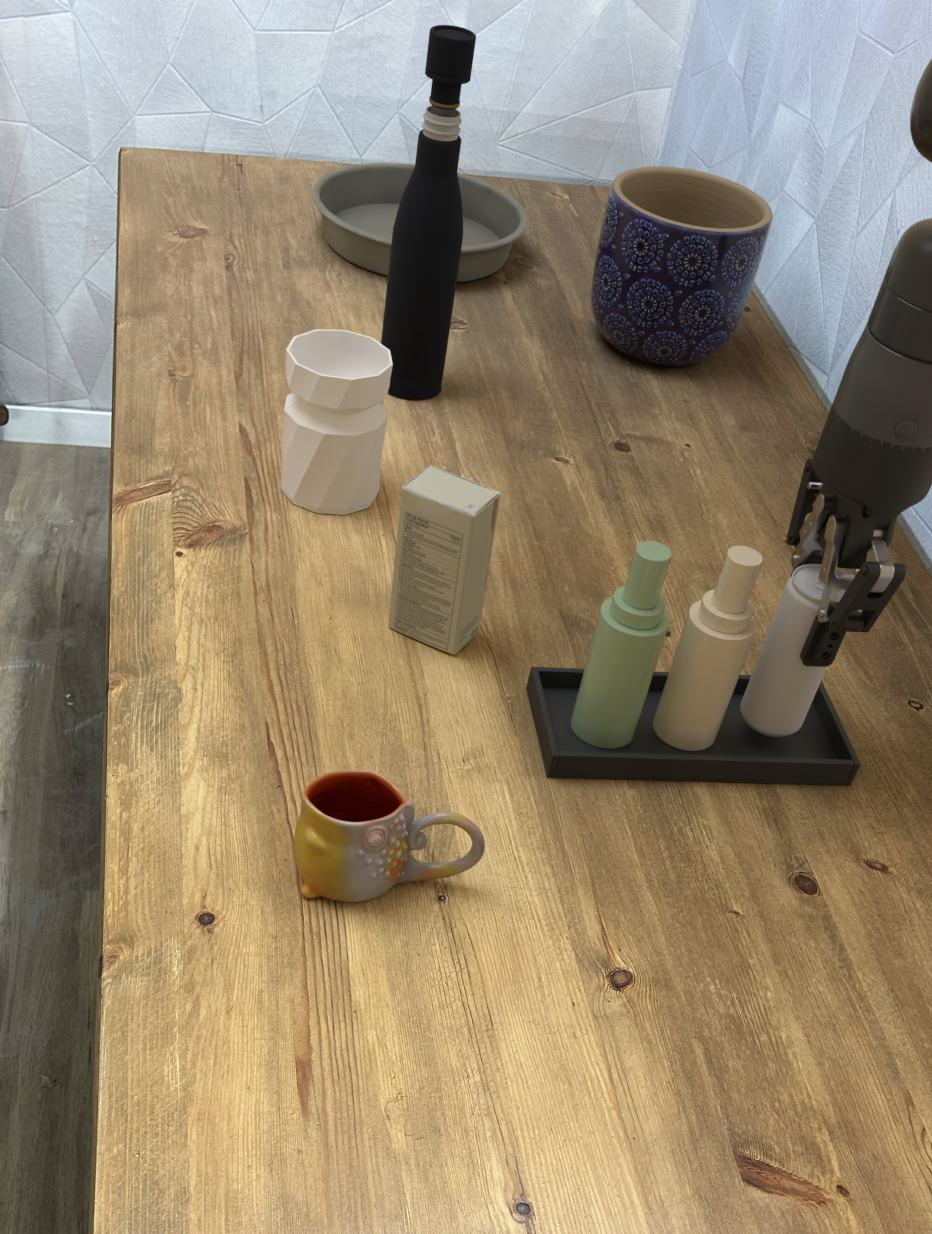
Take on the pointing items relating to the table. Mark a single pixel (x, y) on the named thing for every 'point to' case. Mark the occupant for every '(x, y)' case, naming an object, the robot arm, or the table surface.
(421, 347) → the black bottle
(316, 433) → the vase
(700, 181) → the planter
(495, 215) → the cake pan
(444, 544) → the cosmetic box
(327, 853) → the mug
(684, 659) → the cream bottle
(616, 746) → the sage bottle
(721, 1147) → the table surface
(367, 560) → the table surface
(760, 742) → the tray
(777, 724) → the beverage can
